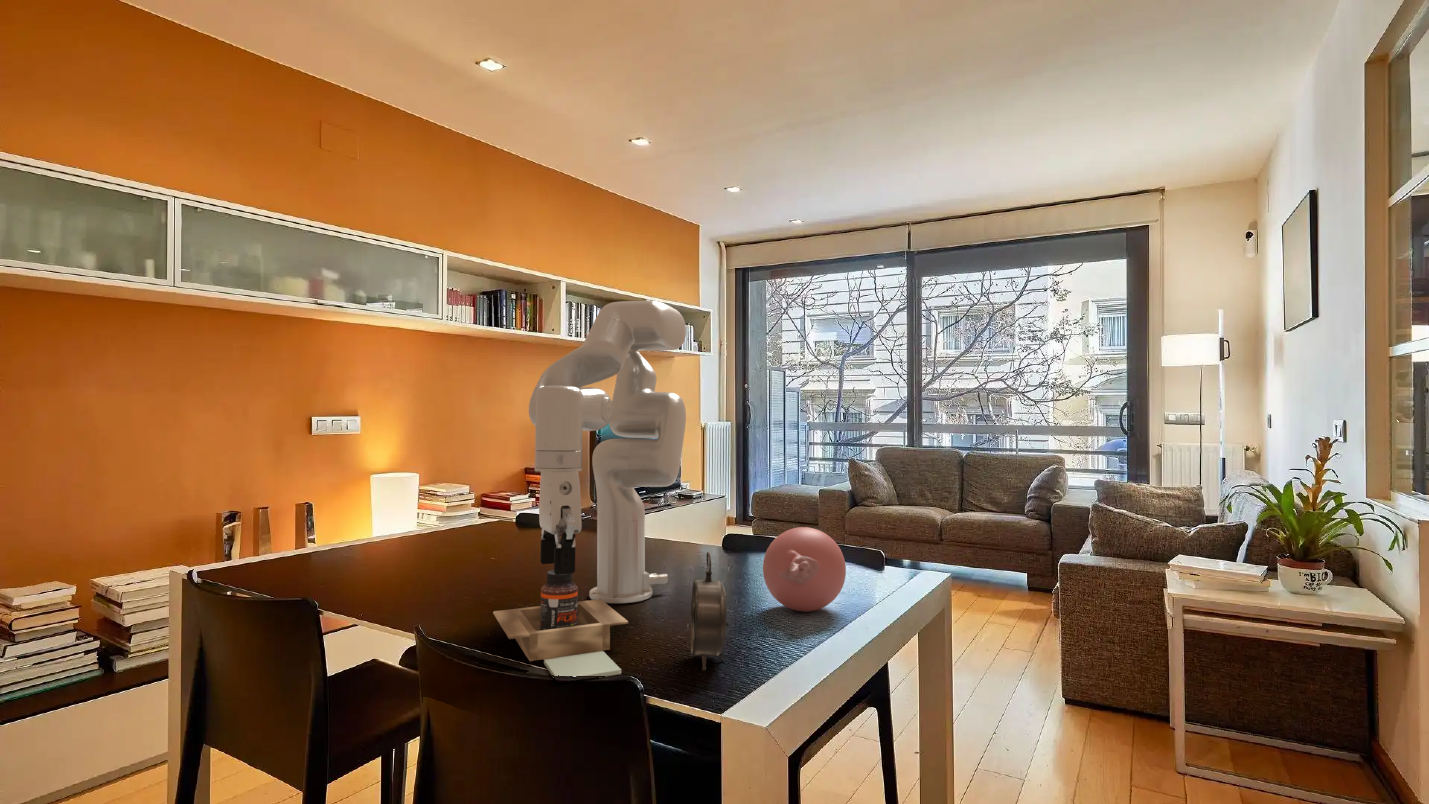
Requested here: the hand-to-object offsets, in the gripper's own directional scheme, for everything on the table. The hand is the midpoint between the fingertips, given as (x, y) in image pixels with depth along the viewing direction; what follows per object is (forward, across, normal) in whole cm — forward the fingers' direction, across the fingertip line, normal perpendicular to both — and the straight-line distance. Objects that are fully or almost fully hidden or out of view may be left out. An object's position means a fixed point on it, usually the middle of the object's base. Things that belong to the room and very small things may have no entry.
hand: (557, 568), depth 118 cm
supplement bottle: (+12, +1, -1) cm, 12 cm away
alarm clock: (+12, -18, -19) cm, 29 cm away
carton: (+12, +1, -1) cm, 12 cm away
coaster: (+12, -13, -1) cm, 18 cm away
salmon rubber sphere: (+11, -2, -45) cm, 46 cm away
